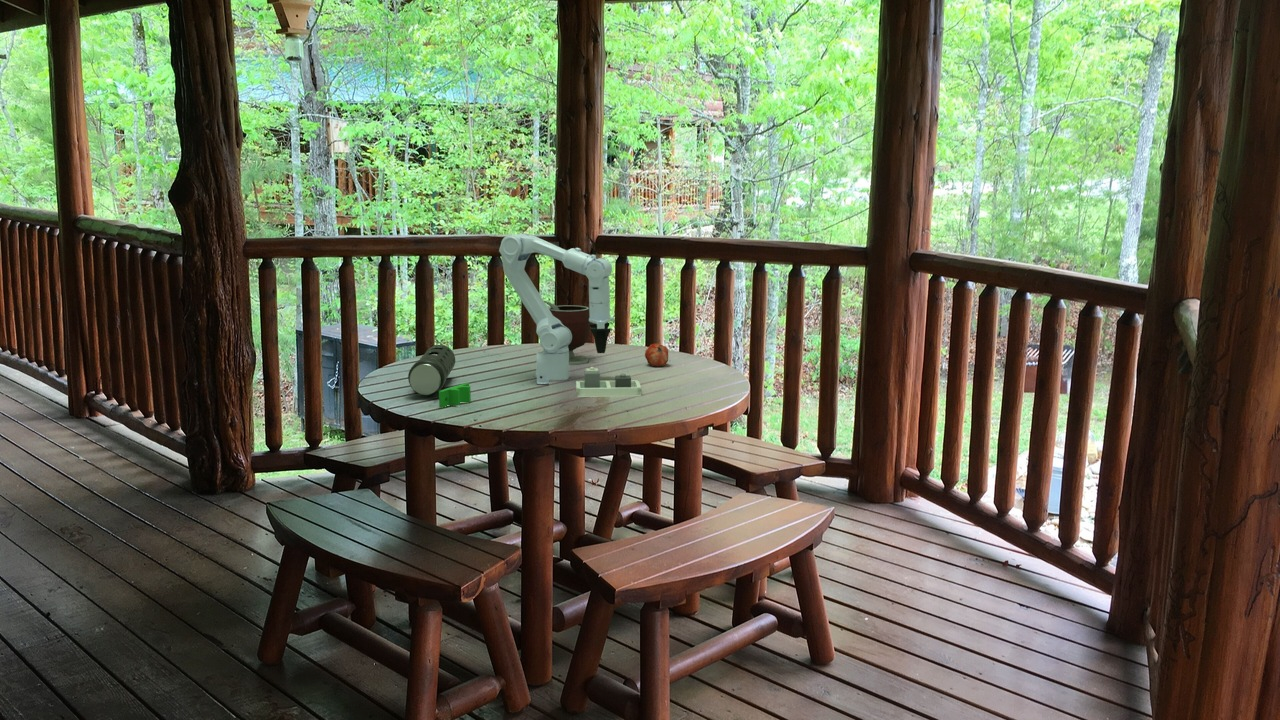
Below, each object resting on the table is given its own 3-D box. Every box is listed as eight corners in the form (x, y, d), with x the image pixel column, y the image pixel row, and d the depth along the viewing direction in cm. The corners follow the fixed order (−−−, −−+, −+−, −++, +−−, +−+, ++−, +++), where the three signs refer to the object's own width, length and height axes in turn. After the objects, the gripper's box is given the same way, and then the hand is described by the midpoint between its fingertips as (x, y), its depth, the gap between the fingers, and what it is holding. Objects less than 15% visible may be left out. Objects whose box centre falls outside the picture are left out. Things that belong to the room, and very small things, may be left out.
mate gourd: (578, 355, 319) (577, 295, 315) (598, 362, 307) (598, 299, 303) (535, 360, 311) (534, 298, 307) (554, 367, 299) (553, 303, 295)
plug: (616, 393, 259) (616, 375, 258) (615, 390, 263) (615, 372, 262) (631, 393, 259) (631, 375, 258) (630, 389, 263) (630, 372, 262)
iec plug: (584, 393, 258) (584, 368, 257) (584, 390, 262) (584, 365, 261) (599, 393, 258) (599, 368, 257) (599, 389, 262) (599, 365, 261)
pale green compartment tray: (576, 401, 255) (576, 389, 254) (576, 391, 265) (576, 380, 265) (641, 400, 256) (641, 388, 255) (638, 391, 267) (638, 379, 266)
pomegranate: (642, 371, 305) (645, 357, 296) (644, 351, 309) (647, 336, 300) (665, 374, 306) (669, 359, 297) (667, 353, 309) (671, 338, 300)
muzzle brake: (457, 378, 283) (455, 343, 281) (444, 400, 255) (442, 361, 253) (423, 378, 282) (422, 343, 280) (407, 400, 255) (405, 362, 253)
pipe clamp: (451, 410, 245) (450, 392, 244) (439, 408, 247) (438, 391, 246) (477, 401, 255) (477, 383, 254) (466, 399, 257) (465, 382, 256)
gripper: (615, 305, 263) (616, 354, 265) (612, 299, 277) (613, 346, 280) (589, 305, 263) (590, 355, 265) (587, 299, 277) (589, 346, 279)
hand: (600, 350), depth 272 cm, fingers open, 7 cm apart
